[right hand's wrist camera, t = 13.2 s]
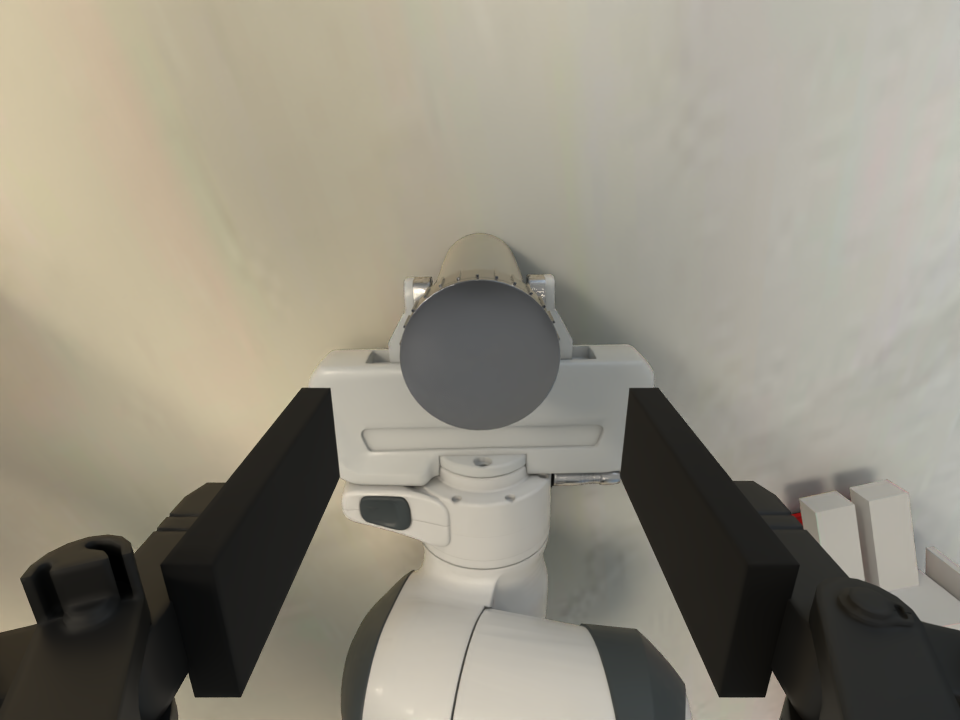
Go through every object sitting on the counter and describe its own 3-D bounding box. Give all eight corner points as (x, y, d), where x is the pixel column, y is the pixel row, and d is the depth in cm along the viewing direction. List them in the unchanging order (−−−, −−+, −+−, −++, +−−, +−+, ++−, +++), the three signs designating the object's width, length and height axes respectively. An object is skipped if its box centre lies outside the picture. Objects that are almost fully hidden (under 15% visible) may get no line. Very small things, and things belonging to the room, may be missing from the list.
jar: (491, 319, 37) (500, 436, 21) (429, 282, 37) (389, 375, 20) (531, 258, 36) (572, 334, 20) (467, 218, 35) (456, 263, 19)
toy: (1013, 517, 32) (1037, 886, 38) (864, 437, 45) (900, 720, 51) (807, 560, 33) (863, 911, 39) (720, 469, 46) (772, 742, 52)
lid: (502, 433, 23) (505, 458, 21) (378, 365, 22) (368, 384, 20) (584, 318, 21) (595, 333, 19) (453, 236, 20) (450, 244, 18)
